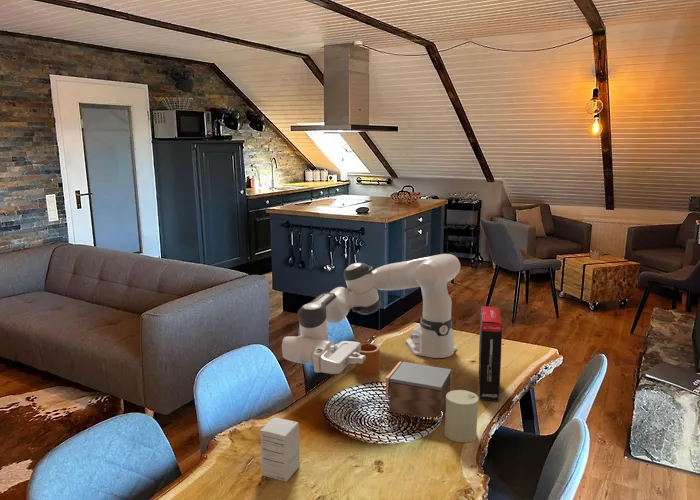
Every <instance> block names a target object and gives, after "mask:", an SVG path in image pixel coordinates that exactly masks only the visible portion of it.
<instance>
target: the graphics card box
mask: <svg viewBox="0 0 700 500" xmlns="http://www.w3.org/2000/svg"><path fill="white" fill-rule="evenodd" d="M479 311H480V314H479V315H480V319H479V341H478V342H479V345H478V347H479V349H478V398H479V400H481V401H491V402H499V401H500V387H501V364H502V363H501V362H502V342H503V341H502V340H503V323H502V322H503V321H502V317H501V311H500V308H499V307H495V306H487V305H485V306H481V307H480V310H479Z"/></svg>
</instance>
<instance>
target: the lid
mask: <svg viewBox="0 0 700 500" xmlns="http://www.w3.org/2000/svg"><path fill="white" fill-rule="evenodd" d="M450 374H451V375H452V369H451V368H444V367H437V366H431V365H427V364H426V365H425V364H424V365H423V364H419V363H414V362H413V363H412V362H407V361H402V360H401V361H399V362H397V364H396V365H395V366H394V368H392V370H391V371H390V373H389V374H387V375H386V376H387V377H385V398H389V388H390V382H395V383H401V384H407V385H412V386H418V387H424V388H429V389H435V390H442V388H443V386H444V384H445V383H446V381H447V379H448V377H449V376H450Z"/></svg>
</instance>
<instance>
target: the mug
mask: <svg viewBox="0 0 700 500" xmlns="http://www.w3.org/2000/svg"><path fill="white" fill-rule="evenodd" d="M359 354H361V355H365V356H366V360H365V361H364V362H363V363H362V364H360V363H356V364H354V366H355V368H354V369H355V370H354V371H355V373H357V374H358V373H359V375H362V376H373V375H377V374H378V373H380V347H379V345H377V344H375V343H368V342H366V343H365V342H364V343H361V352H360V353H359Z"/></svg>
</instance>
